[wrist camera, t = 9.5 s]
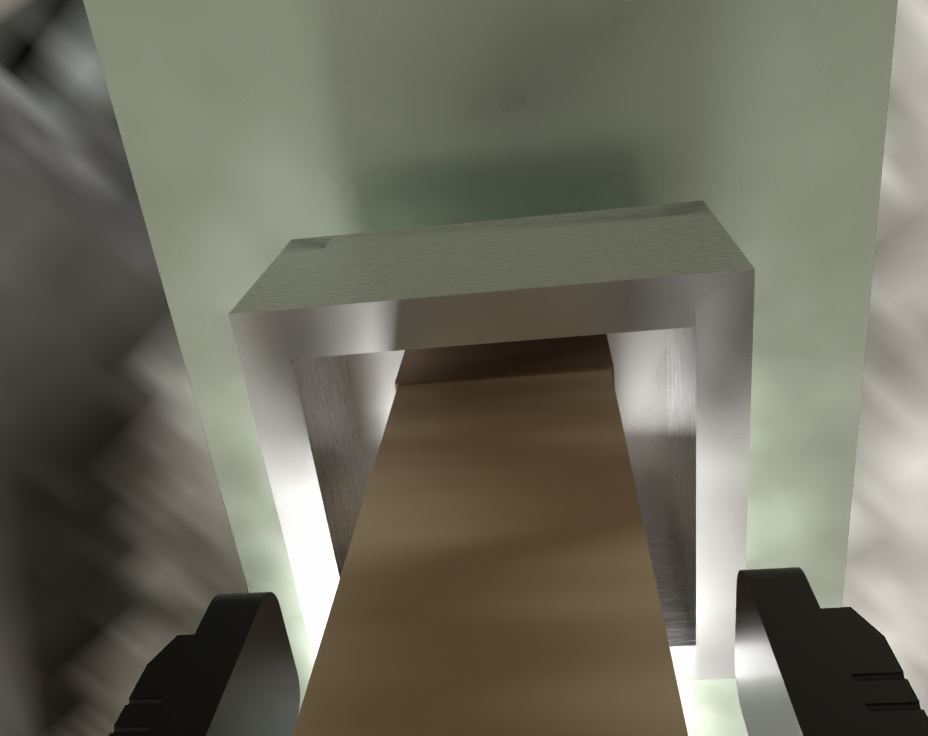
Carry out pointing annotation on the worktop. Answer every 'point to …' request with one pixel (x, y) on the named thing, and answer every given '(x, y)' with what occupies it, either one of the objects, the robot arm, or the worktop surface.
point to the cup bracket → (521, 257)
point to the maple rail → (498, 560)
